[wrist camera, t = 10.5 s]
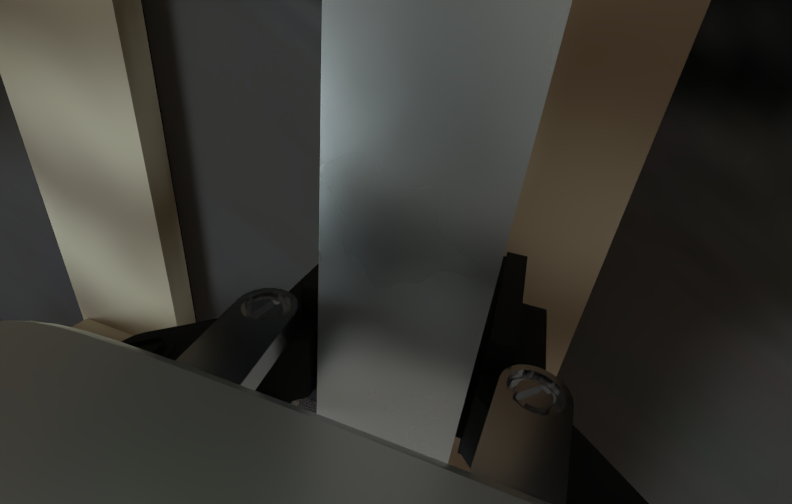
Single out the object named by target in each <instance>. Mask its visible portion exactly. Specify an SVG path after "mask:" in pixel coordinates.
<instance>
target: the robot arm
mask: <svg viewBox="0 0 792 504" xmlns="http://www.w3.org/2000/svg"><path fill="white" fill-rule="evenodd" d="M527 258H528V256H523V255H519V254H515V253H511V252H507V255H506V256H503V260H502V264H501V268H500V271H499V275H498V279H497V282H496V286H495V290H494V294H493V297H492V301H491V305H490V308H489V312H488V316H487V320H486V323H485V327H484V331H483V334H482V338H481V342H480V346H479V349H478V353H477V357H476V360H475V364H474V368H473V372H472V375H471V379H470V383H469V386H468V390H467V394H466V398H465V401H464V405H463V409H462V412H461V416H460V420H459V424H458V427H457V431H456V435H455V437H457V438H460V444H459V448H458V452H457V453H458V454H461V455H462V457H463V458H464V460H465V461H466V463H467V464H468V466H469V467H470V471H469V472H468V471H466V470H463V469H460V468H458V467H455V466H452V465H450V464H447V463H445V462H442V461H439V460H437V459H434V458H432V457H429V456H426V455H424V454H421V453H419V452H416V451H413V450H411V449H408V448H406V447H403V446H400V445H398V444H395V443H393V442H390V441H387V440H385V439H382V438H379V437H377V436H374V435H372V434H369V433H366V432H364V431H361V430H358V429H356V428H353V427H350V426H348V425H345V424H342V423H340V422H337V421H335V420H332V419H329V418H327V417H324V416H321V415H319V414H316V413H313V412H311V411H308V410H305V409H303V408H300V407H298V406H299V403H300V399H302V398H305V397H307V398H309V399H312V400H315V401H317V350H318V273H319V264H318V265H317V266H315V267H314V268H313V269H312V270H311V271H310V272H309V273H308V274H307V275H306V276H305V277H304V278H303V279H302V280H301V281H300V282H298V283H297V284H296V285H295V286H294V287H293V288H292V289H291V290H290V291H289V292H288V291H285V290H282V289H277V288H262V289H258V290H253V291H251V292H248V293H246V294H244V295H243V296H241V297H240V298H239V299H238V300H237V301H236V302H235V303H234V304H233V305H232V306H230V307H229V308H228V309H227V310H226V311H225V312H224V313H223V314H222V315H221V316H220V317H219V318H218V319H212V320H207V321H202V322H196V323H191V324H186V325H181V326H175V327H170V328H165V329H159V330H154V331H149V332H144V333H140V334H137V335H134V336H131V337H129V338H127V339H125V340H123V341H121V342H120V341H117V340H114V339H111V338H107V337H104V336H101V335H98V334H95V333H92V332H88V331H85V330H81V329H76V328H72V327H68V326H63V325H59V324H52V323H44V322H36V321H20V320H0V504H649V503H648V502H647V501H646V500H645V499H644V498H643V497H642V496H641V495H640V494H639V493H638V492H637V491H636V490H635V489H634V488H633V487H632V486H631V485H630V484H629V483H628V482H627V481H626V479H625V478H624V477H623V476H622V475H621V474H620V473H619V472H618V471H617V470H616V469H615V468H614V467H613V466H612V465H611V464H610V463H609V462H608V461H607V460H606V459H605V458H604V457H603V455H602V454H601V453H600V452H599V451H598V450H597V449H596V448H595V447H594V446H593V445H592V444H591V443H590V442H589V441H588V440H587V439H586V438H585V437H584V436H583V435H582V434H581V433H580V431H579V430H578V429H577V428H576V427H575V426H574V425H573V424H572V422H573V409H574V404H573V397H572V395H571V393H570V391H569V389H568V388H567V387H566V386H565V384H564V383H563V382H562V381H561V380H560V379H559V378H557V377H556V376H554V375H553V374H552V373H550V372H548V371H546V334H547V310H546V309H543V308H539V307H536V306H532V305H528V304H525V303H523V294H524V285H525V276H526V267H527Z"/></svg>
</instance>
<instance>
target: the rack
mask: <svg viewBox="0 0 792 504" xmlns="http://www.w3.org/2000/svg"><path fill="white" fill-rule="evenodd" d="M0 74H1V77H2V80H3V83H4V86H5V89H6V92H7V95H8V98H9V101H10V104H11V107H12V109H13V112H14V115H15V118H16V121H17V124H18V127H19V130H20V133H21V136H22V139H23V142H24V145H25V148H26V151H27V154H28V157H29V160H30V162H31V165H32V168H33V171H34V174H35V177H36V180H37V183H38V186H39V189H40V192H41V195H42V198H43V201H44V204H45V207H46V210H47V213H48V216H49V218H50V221H51V224H52V227H53V230H54V233H55V236H56V239H57V242H58V245H59V248H60V251H61V254H62V257H63V260H64V263H65V266H66V269H67V271H68V274H69V277H70V280H71V283H72V286H73V289H74V292H75V295H76V298H77V301H78V304H79V307H80V310H81V313H82V316H83V319H84V320H83V321H82V322H80V323H78V324H77V325H75V326H73V327H72V328H76V329H81V330H85V331H88V332H92V333H95V334H98V335H101V336H104V337H107V338H111V339H114V340H117V341H120V342H121V341H123V340H125V339H127V338H129V337H131V336H134V335H137V334H140V333H144V332H149V331H154V330H159V329H165V328H170V327H175V326H181V325H186V324H191V323H196V320H195V314H194V308H193V302H192V296H191V290H190V285H189V279H188V273H187V267H186V261H185V255H184V249H183V243H182V238H181V232H180V226H179V220H178V214H177V208H176V202H175V197H174V191H173V185H172V179H171V173H170V167H169V161H168V156H167V150H166V144H165V138H164V132H163V126H162V120H161V115H160V109H159V103H158V97H157V91H156V85H155V79H154V74H153V68H152V62H151V56H150V50H149V44H148V38H147V33H146V27H145V21H144V15H143V9H142V3H141V0H0Z"/></svg>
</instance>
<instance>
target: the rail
mask: <svg viewBox="0 0 792 504" xmlns="http://www.w3.org/2000/svg"><path fill="white" fill-rule="evenodd" d="M571 4H572V0H322V45H321V121H320V197H319V273H318V350H317V414H319V415H321V416H324V417H327V418H329V419H332V420H335V421H337V422H340V423H342V424H345V425H348V426H350V427H353V428H356V429H358V430H361V431H364V432H366V433H369V434H372V435H374V436H377V437H379V438H382V439H385V440H387V441H390V442H393V443H395V444H398V445H400V446H403V447H406V448H408V449H411V450H413V451H416V452H419V453H421V454H424V455H426V456H429V457H432V458H434V459H437V460H439V461H442V462H445V463H447V464H448V461H449V457H450V453H451V450H452V446H453V442H454V438H455V435H456V431H457V427H458V424H459V420H460V416H461V412H462V409H463V405H464V401H465V398H466V394H467V390H468V386H469V383H470V379H471V375H472V372H473V368H474V364H475V360H476V357H477V353H478V349H479V346H480V342H481V338H482V334H483V331H484V327H485V323H486V320H487V316H488V312H489V308H490V305H491V301H492V297H493V294H494V290H495V286H496V282H497V279H498V275H499V271H500V268H501V264H502V260H503V256H504V253H505V249H506V245H507V242H508V238H509V234H510V230H511V227H512V223H513V219H514V216H515V212H516V208H517V204H518V201H519V197H520V193H521V190H522V186H523V182H524V178H525V175H526V171H527V167H528V164H529V160H530V156H531V152H532V149H533V145H534V141H535V138H536V134H537V130H538V126H539V123H540V119H541V115H542V112H543V108H544V104H545V100H546V97H547V93H548V89H549V86H550V82H551V78H552V74H553V71H554V67H555V63H556V60H557V56H558V52H559V48H560V45H561V41H562V37H563V34H564V30H565V26H566V22H567V19H568V15H569V11H570V8H571Z"/></svg>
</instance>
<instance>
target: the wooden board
mask: <svg viewBox="0 0 792 504" xmlns="http://www.w3.org/2000/svg"><path fill="white" fill-rule="evenodd" d="M710 1H711V0H572V4H571V8H570V11H569V15H568V19H567V22H566V26H565V30H564V34H563V37H562V41H561V45H560V48H559V52H558V56H557V60H556V63H555V67H554V71H553V74H552V78H551V82H550V86H549V89H548V93H547V97H546V100H545V104H544V108H543V112H542V115H541V119H540V123H539V126H538V130H537V134H536V138H535V141H534V145H533V149H532V152H531V156H530V160H529V164H528V167H527V171H526V175H525V178H524V182H523V186H522V190H521V193H520V197H519V201H518V204H517V208H516V212H515V216H514V219H513V223H512V227H511V230H510V234H509V238H508V242H507V245H506V249H505V253H504V256H506V255H507V252H511V253H515V254H519V255H523V256H528V258H527V267H526V276H525V285H524V294H523V303H525V304H528V305H532V306H536V307H539V308H543V309H546V310H547V334H546V371H548V372H550V373H552V374H553V375H554V376H556V377H557V374H558V372H559V369H560V367H561V364H562V362H563V360H564V357H565V355H566V352H567V350H568V347H569V345H570V342H571V340H572V338H573V335H574V333H575V330H576V328H577V325H578V323H579V321H580V318H581V316H582V313H583V311H584V308H585V306H586V304H587V301H588V299H589V296H590V294H591V291H592V289H593V286H594V284H595V282H596V279H597V277H598V274H599V272H600V269H601V267H602V265H603V262H604V260H605V257H606V255H607V252H608V250H609V247H610V245H611V243H612V240H613V238H614V235H615V233H616V230H617V228H618V226H619V223H620V221H621V218H622V216H623V213H624V211H625V208H626V206H627V204H628V201H629V199H630V196H631V194H632V191H633V189H634V187H635V184H636V182H637V179H638V177H639V174H640V172H641V170H642V167H643V165H644V162H645V160H646V157H647V155H648V152H649V150H650V148H651V145H652V143H653V140H654V138H655V135H656V133H657V131H658V128H659V126H660V123H661V121H662V118H663V116H664V113H665V111H666V109H667V106H668V104H669V101H670V99H671V96H672V94H673V92H674V89H675V87H676V84H677V82H678V79H679V77H680V75H681V72H682V70H683V67H684V65H685V62H686V60H687V57H688V55H689V53H690V50H691V48H692V45H693V43H694V40H695V38H696V36H697V33H698V31H699V28H700V26H701V23H702V21H703V18H704V16H705V14H706V11H707V9H708V6H709V4H710ZM459 444H460V438H457V437H455V438H454V442H453V446H452V450H451V453H450V457H449V461H448V464H450V465H452V466H455V467H458V468H460V469H463V470H466V471H468V472H469V471H470V467H469V466H468V464H467V463H466V461H465V460H464V458H463V457H462V455H461V454H458V453H457V452H458V448H459Z"/></svg>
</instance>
